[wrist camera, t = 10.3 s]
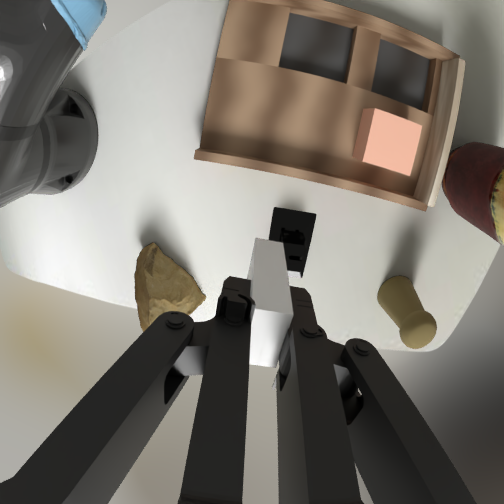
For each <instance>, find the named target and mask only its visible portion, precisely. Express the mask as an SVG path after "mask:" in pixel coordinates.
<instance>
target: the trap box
mask: <svg viewBox="0 0 504 504" xmlns="http://www.w3.org/2000/svg"><path fill="white" fill-rule="evenodd" d="M465 62H466V61H464V60H462V59H460V56H459V55H457V54H456V53H454V52H452V51H450V50H448V49H446V48H445V47H443V46H441V45H439V44H437V43H435V42H433V41H431V40H429V39H427V38H425V37H423V36H421V35H418V34H416V33H414V32H412V31H410V30H407V29H405V28H403V27H400V26H398V25H396V24H393V23H391V22H388V21H386V20H383V19H380V18H378V17H375V16H372V15H369V14H367V13H364V12H361V11H358V10H355V9H351V8H348V7H345V6H342V5H338V4H335V3H331V2H327V1H324V0H230V1H229V5H228V9H227V13H226V17H225V21H224V26H223V30H222V34H221V39H220V43H219V48H218V52H217V57H216V62H215V66H214V71H213V76H212V81H211V86H210V92H209V97H208V102H207V108H206V113H205V119H204V125H203V131H202V137H201V143H200V148H199V149H197V150H195V155H194V159H196V160H202V161H209V162H215V163H221V164H227V165H233V166H239V167H244V168H250V169H255V170H260V171H265V172H270V173H275V174H280V175H285V176H290V177H295V178H299V179H304V180H308V181H313V182H317V183H322V184H326V185H330V186H334V187H338V188H342V189H347V190H351V191H354V192H358V193H362V194H366V195H370V196H374V197H377V198H381V199H385V200H388V201H392V202H395V203H399V204H402V205H406V206H409V207H412V208H416V209H419V210H422V211H426V209H427V206H431V207H434V206H435V203H436V199H437V196H438V193H439V189H440V186H441V183H442V179H443V175H444V172H445V168H446V164H447V160H448V156H449V152H450V148H451V144H452V139H453V135H454V130H455V125H456V121H457V115H458V110H459V104H460V98H461V92H462V86H463V78H464V71H465ZM368 108H376V109H379V110H382V111H385V112H388V113H390V114H393V115H396V116H399V117H401V118H404V119H406V120H409V121H412V122H414V123H417V124H419V125H421V126H422V130H421V134H420V139H419V143H418V147H417V151H416V155H415V159H414V163H413V167H412V170H411V174H410V176H408V175H405V174H402V173H399V172H396V171H392V170H389V169H386V168H383V167H380V166H376V165H373V164H370V163H366V162H363V161H360V160H358V159H356V158H354V157H352V156H353V152H354V148H355V143H356V139H357V135H358V130H359V126H360V122H361V117H362V113H363V109H368Z"/></svg>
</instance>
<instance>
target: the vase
mask: <svg viewBox="0 0 504 504" xmlns="http://www.w3.org/2000/svg"><path fill="white" fill-rule="evenodd" d="M442 188H443V191H444V194H445V196H446V197H447V199H448V200H449V202H450V205H451V207H452V208H453V210H454V211H455V212H456V213H457V214H458V215H460V216H461V217H463V218H464V219H465V220H467V221H468V222H470V223H471V224H473V225H474V226H476V227H477V228H479V229H480V230H481V231H483V232H484V233H486V234H487V235H489V236H490V237H492V238H493V239H494V240H496V241H497V242H499V243H500V244H501V245H503V246H504V148H502V147H498V146H494V145H489V144H484V143H478V142H471V143H468V144H466V145H464V146H462V147H458V148H456V149H455V150H453V151H452V152H451V153H450V154H449V156H448V160H447V164H446V168H445V172H444V175H443V179H442Z"/></svg>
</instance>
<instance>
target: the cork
mask: <svg viewBox="0 0 504 504" xmlns="http://www.w3.org/2000/svg"><path fill="white" fill-rule="evenodd" d="M377 299H378V302H379V304H380V305H381V307H382V308H383V309H384V310H385V311H386V313H387V314H388V315H389V316H390V317H391V319H392V320H393V321H394V322H395V324H396V325H397V326H398V327H399V328H400V331H399V332H400V337H401V340H402V342H403V343H404V344H405V345H406V346H407V347H410V348H413V349H418V348H422V347H424V346H426V345H427V344H428V343H430V342H431V341H432V339H433V338H434V336H435V334H436V330H437V325H436V321H435V319H434V318H433V316H432V315H431V314H430V313H428V312H426V311H425V310H424V308H423V306H422V304H421V302H420V300H419V297H418V295H417V293H416V291H415V289H414V287H413V285H412V283H411V281H410V280H409V279H408V278H406V277H405V276H395V277H392V278H390V279H388V280H387V281H386V282H384V283H383V284H382V286H381V287H380V289H379V291H378V296H377Z"/></svg>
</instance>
